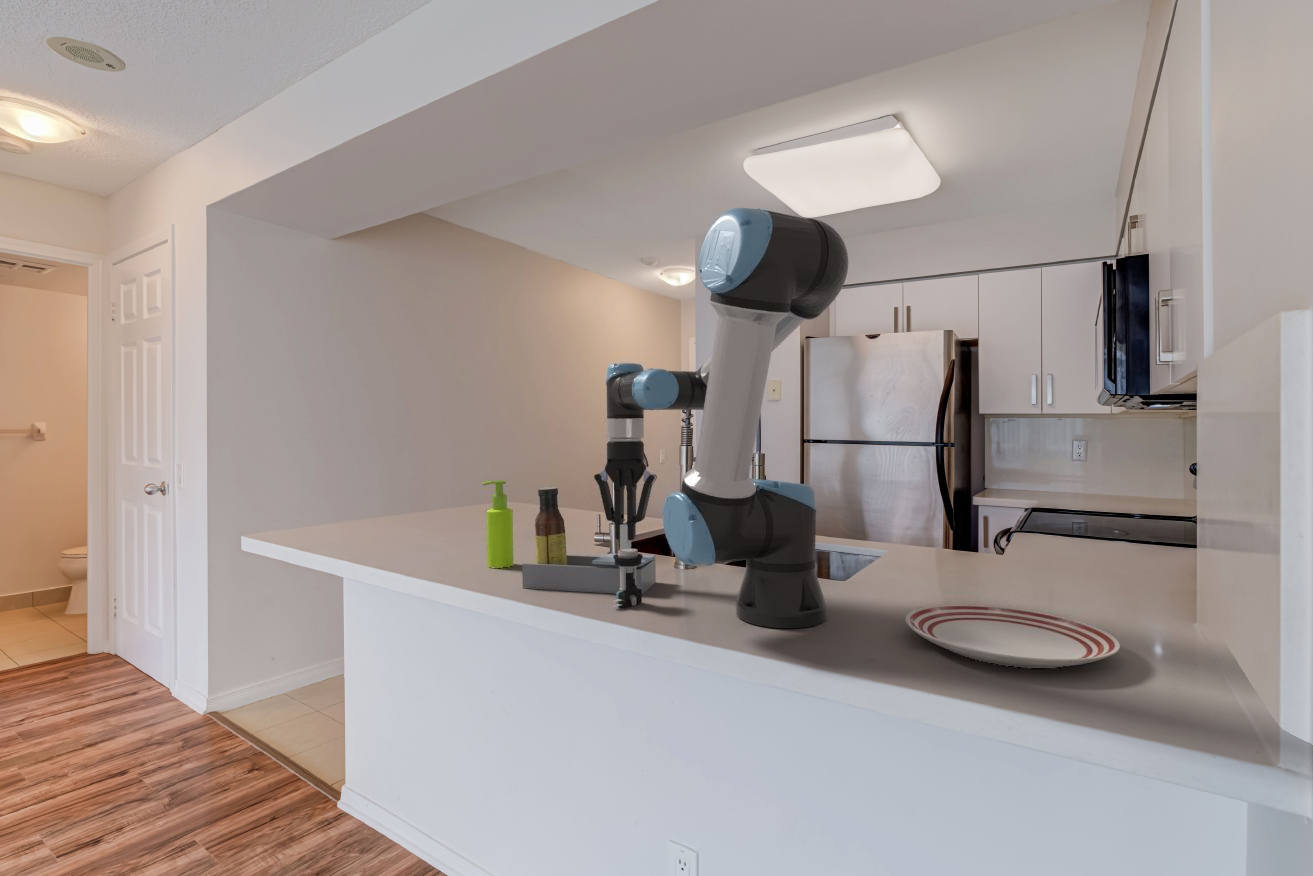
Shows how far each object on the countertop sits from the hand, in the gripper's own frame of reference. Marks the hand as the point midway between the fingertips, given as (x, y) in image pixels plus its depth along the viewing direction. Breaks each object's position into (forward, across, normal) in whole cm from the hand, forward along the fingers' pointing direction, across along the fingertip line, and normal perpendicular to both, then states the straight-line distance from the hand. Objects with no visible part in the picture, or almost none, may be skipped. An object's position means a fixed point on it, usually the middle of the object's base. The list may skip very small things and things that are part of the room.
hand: (625, 555), depth 135 cm
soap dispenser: (+6, +35, -11) cm, 37 cm away
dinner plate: (+6, -65, +22) cm, 69 cm away
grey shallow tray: (+6, +7, +1) cm, 10 cm away
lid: (+1, 0, +1) cm, 2 cm away
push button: (+6, -4, +14) cm, 16 cm away
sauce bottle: (+6, +16, +1) cm, 17 cm away
